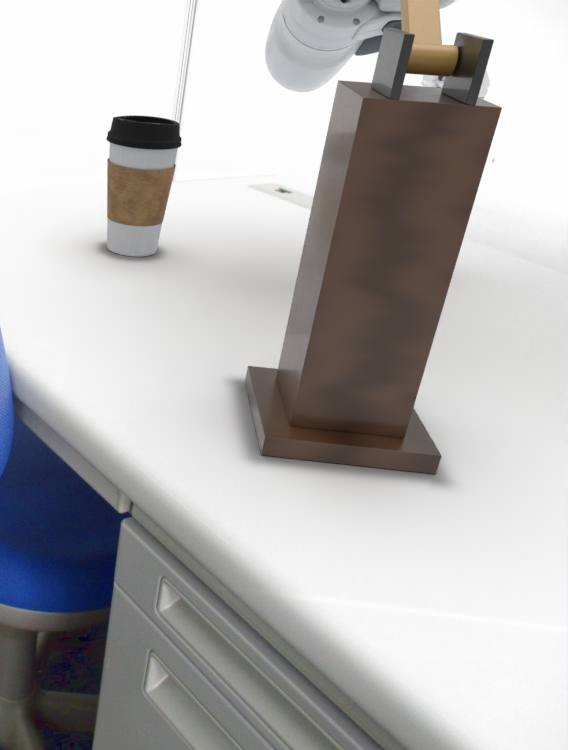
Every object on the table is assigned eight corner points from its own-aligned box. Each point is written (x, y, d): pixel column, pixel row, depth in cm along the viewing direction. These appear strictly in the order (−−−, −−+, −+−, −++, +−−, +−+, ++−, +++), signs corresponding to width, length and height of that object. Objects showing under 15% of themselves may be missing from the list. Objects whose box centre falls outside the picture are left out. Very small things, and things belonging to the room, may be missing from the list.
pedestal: (393, 397, 71) (496, 30, 58) (436, 474, 60) (573, 47, 48) (244, 381, 72) (313, 18, 59) (261, 455, 61) (349, 32, 49)
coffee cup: (86, 252, 101) (98, 118, 94) (108, 234, 108) (120, 107, 101) (157, 264, 98) (175, 127, 91) (174, 245, 105) (192, 116, 98)
